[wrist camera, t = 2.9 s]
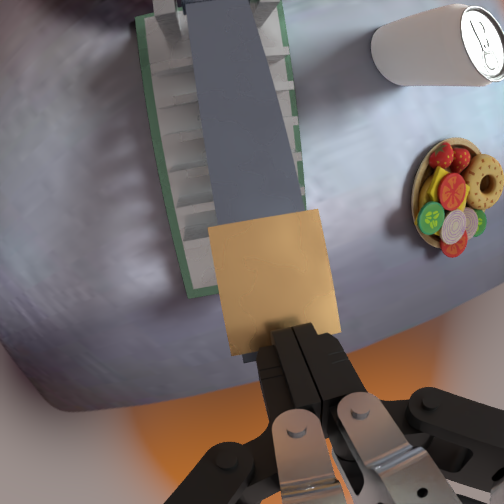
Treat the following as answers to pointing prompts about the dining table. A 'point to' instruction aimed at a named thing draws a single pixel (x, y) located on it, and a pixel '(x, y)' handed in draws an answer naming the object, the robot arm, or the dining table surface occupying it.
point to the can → (441, 48)
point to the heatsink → (200, 126)
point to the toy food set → (454, 194)
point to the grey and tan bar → (254, 187)
